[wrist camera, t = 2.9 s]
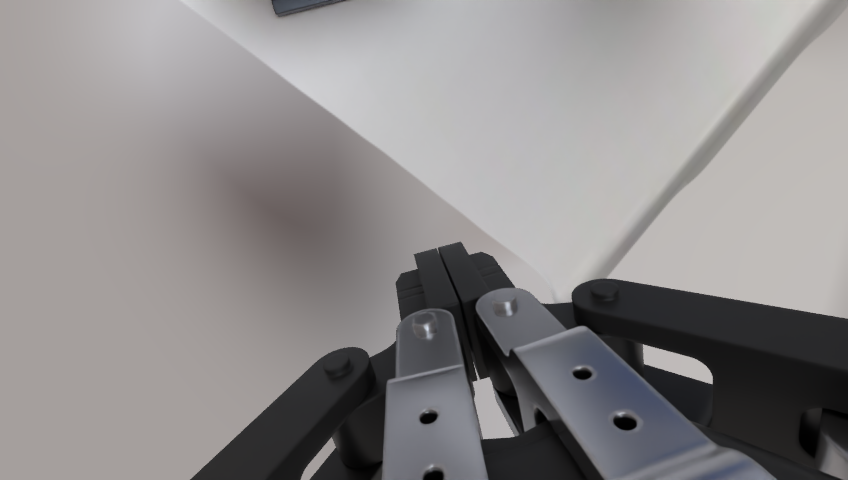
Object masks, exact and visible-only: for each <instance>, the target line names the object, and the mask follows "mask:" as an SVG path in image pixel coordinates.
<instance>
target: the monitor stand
mask: <svg viewBox="0 0 848 480" xmlns="http://www.w3.org/2000/svg"><path fill="white" fill-rule="evenodd" d="M271 1H272V4H273V7H274V10H275V13H276V15H277V16H278V17H280V16H284V15H288V14H292V13H296V12H300V11H304V10H308V9H312V8H316V7H320V6H324V5H328V4H332V3H336V2H340V1H344V0H271Z"/></svg>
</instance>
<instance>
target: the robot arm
mask: <svg viewBox="0 0 848 480" xmlns="http://www.w3.org/2000/svg"><path fill="white" fill-rule="evenodd" d="M438 250H439V253H438V251H437V249H436V248H435V249H432V250H428V251H424V252H421V253H417V254H414V256H415V260H416V264H417V268H418V269H416V270H413V271H409V272H405V273H402V274H401V275H400V277H399V278H398V280H397V282H396V288H397V296H398V303H399V310H400V317H401V322H400V324H399V325H398V327H397V331H396V341H395V342H394V344H392V345H391V346H390V347H388V348H387V349H386V350H384V351H382V352H380V353H378V354H376V355H374V356H372V357H370V358H369V355H368V353H367V352H366V351H365V350H363V349H361V348H356V347H348V348H343V349H339V350H336V351H333V352H331V353H329V354H327V355H325V356H324V357H322V358H321V359H319V360H318V361H317V362H316V363H315V364H314V365H312V366H311V367H310V368H309V369H308V370H307V371H306V372H305V373H304V374H303V375H302V376H301V377H300V378H299V379H298V380H296V381H295V382H294V383H293V384H292V385H291V386H290V387H289V388H288V389H287V390H286V391H285V392H284V393H283V394H282V395H280V396H279V397H278V398H277V399H276V400H275V401H274V402H273V403H272V404H271V405H270V406H269V407H268V408H267V409H266V410H264V411H263V412H262V413H261V414H260V415H259V416H258V417H257V418H256V419H255V420H254V421H253V422H251V423H250V424H249V425H248V426H247V427H246V428H245V429H244V430H243V431H242V432H241V433H240V434H239V435H238V436H236V437H235V438H234V439H233V440H232V441H231V442H230V443H229V444H228V445H227V446H226V447H225V448H224V449H223V450H222V451H220V452H219V453H218V454H217V455H216V456H215V457H214V458H213V459H212V460H211V461H210V462H209V463H208V464H207V465H205V466H204V467H203V468H202V469H201V470H200V471H199V472H198V473H197V474H196V475H195V476H194V477H193V478H192V479H190V480H300V479H301V476H302V474H303V471H304V470H305V468H306V467H307V465H308V464H309V463H310V462H311V460H312V459H313V458H314V457H315V456H316V455H317V453H318V452H319V451H320V450H321V449H322V447H323V446H324V445H325V444H326V443H327V442H328V440H329V439H330V438H331V437H332V439H333V441H334V443H335V446H336V448H335V449H334V451H333V452H332V453H331V454H330V456H329V457H328V458H327V459H326V460H325V462H324V463H323V464H322V465H321V467H320V468H319V469H318V470H317V471H316V473H315V474H314V475H313V476H312V477H311V479H310V480H848V319H845V318H839V317H833V316H827V315H822V314H816V313H810V312H804V311H798V310H793V309H786V308H781V307H775V306H769V305H763V304H757V303H751V302H745V301H740V300H734V299H728V298H722V297H716V296H710V295H704V294H699V293H693V292H687V291H681V290H675V289H669V288H664V287H658V286H652V285H646V284H639V283H634V282H628V281H623V280H616V279H596V280H591V281H588V282H585V283H582V284H580V285H579V286H577V287H576V288H575V289H574V290H573V292H572V302H570V303H558V304H542V303H540V302H539V301H538V300H537V299H536V298H535V297H534V296H533V295H532V294H531V293H530V292H528V291H526V290H523V289H520V288H515V286H514V285H513V284H512V282H511V281H510V280H509V278H508V277H507V275H506V274H505V273H504V272H503V270H502V269H501V267H500V266H499V265H498V263H497V262H496V260H495V259H494V258H493V256H490V255H488V254H486V253H483V252H479V253H475V254H471V255H469V254H468V253H467V251H466V249H465V248H464V246H463V244H462V243H461V242H457V243H454V244H450V245H446V246H443V247H439V248H438ZM439 255H440V256H439ZM643 344H644V345H648V346H651V347H655V348H659V349H663V350H666V351H670V352H674V353H678V354H682V355H685V356H689V357H692V358H695V359H697V360H699V361H700V362H702V363H703V364H705V365H706V366H707V367H708V368H709V370H710V371H711V373H712V376H713V384H708V383H705V382H702V381H699V380H695V379H692V378H689V377H685V376H682V375H678V374H675V373H672V372H668V371H665V370H662V369H658V368H655V367H651V366H648V365H645V364H644V362H643V361H644V360H643ZM473 362H474V363H473ZM474 365H475V368H476V370H477V373H478V375H479V378H480V379H484V378H487V377H490V379H491V381H492V385H493V389H494V394H495V398H496V401H497V403H498V405H499V407H500V409H501V411H502V413H503V415H504V417H505V418H506V421H507V422H508V424H509V426H510V428H511V430H512V432H513V434H514V436H515V437H511V438H498V439H483V437H482V433H481V428H480V424H479V420H478V415H477V411H476V407H475V403H474V396H475V391H474V387H473V383H472V382H473V381H477V376H476V372H475V368H474Z"/></svg>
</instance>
